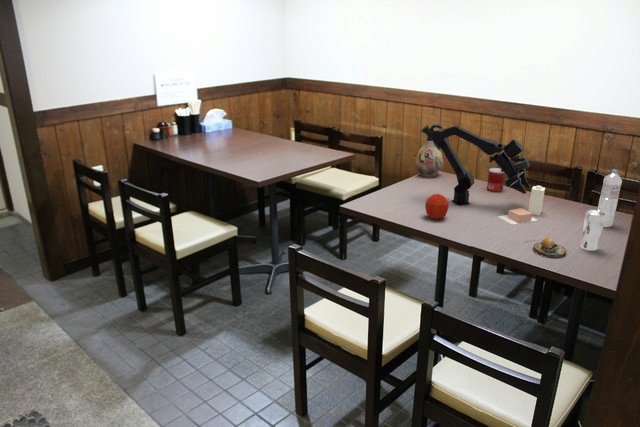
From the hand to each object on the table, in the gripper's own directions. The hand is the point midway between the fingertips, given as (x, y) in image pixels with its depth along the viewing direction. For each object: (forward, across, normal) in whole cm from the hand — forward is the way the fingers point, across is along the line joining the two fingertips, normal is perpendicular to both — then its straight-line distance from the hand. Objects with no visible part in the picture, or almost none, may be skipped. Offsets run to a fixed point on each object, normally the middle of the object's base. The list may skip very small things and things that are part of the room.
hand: (527, 190), depth 234 cm
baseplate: (+7, -11, +9) cm, 16 cm away
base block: (+7, -12, +7) cm, 15 cm away
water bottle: (+31, +2, -15) cm, 35 cm away
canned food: (-6, +28, +22) cm, 36 cm away
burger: (+19, -38, -3) cm, 43 cm away
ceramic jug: (-33, +36, +48) cm, 69 cm away
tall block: (+11, 0, +5) cm, 12 cm away
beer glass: (+29, -27, -12) cm, 41 cm away
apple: (-16, -25, +32) cm, 44 cm away
